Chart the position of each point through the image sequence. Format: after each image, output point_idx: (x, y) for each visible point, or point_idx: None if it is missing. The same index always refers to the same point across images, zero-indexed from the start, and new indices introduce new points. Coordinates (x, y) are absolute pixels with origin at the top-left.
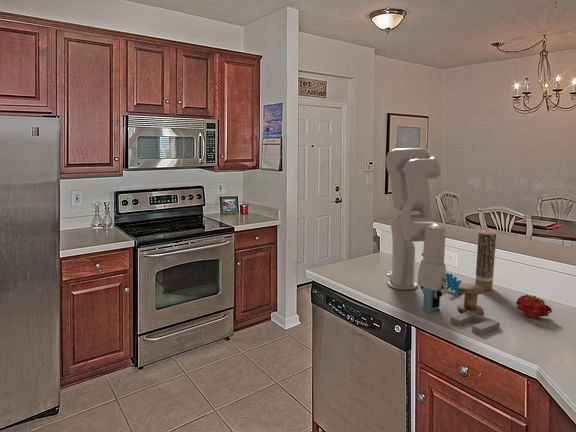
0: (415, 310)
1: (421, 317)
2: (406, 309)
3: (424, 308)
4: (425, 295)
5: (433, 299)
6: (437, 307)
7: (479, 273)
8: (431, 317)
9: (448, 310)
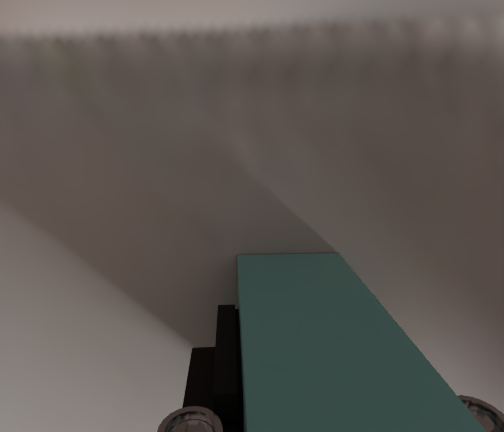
0: (366, 156)
1: (186, 47)
2: (451, 90)
3: (321, 257)
4: (378, 356)
5: (222, 374)
6: None
7: None
8: (125, 150)
9: None
